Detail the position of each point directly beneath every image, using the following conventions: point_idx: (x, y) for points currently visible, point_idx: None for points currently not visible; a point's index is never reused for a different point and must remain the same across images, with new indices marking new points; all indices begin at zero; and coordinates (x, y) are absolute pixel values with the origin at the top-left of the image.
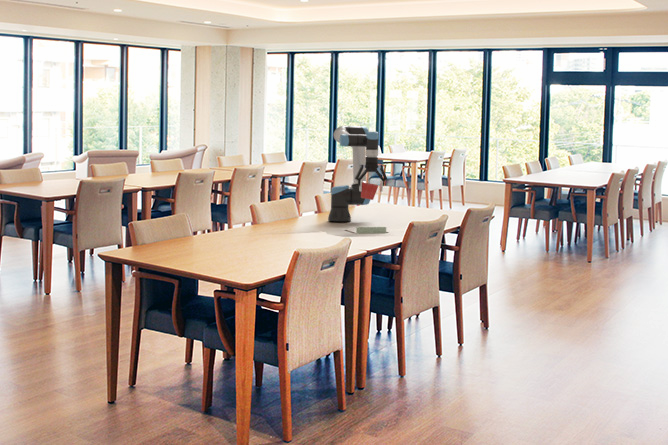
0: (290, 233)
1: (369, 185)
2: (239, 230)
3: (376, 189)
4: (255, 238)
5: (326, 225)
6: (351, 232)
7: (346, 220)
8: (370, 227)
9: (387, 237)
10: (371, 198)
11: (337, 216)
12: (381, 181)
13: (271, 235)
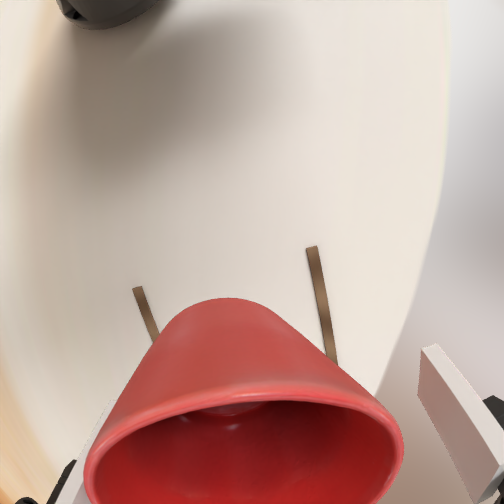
0: (10, 389)
1: None
2: None
3: (340, 469)
4: (11, 459)
5: (67, 32)
6: None
7: (144, 9)
8: None
9: None
10: (270, 409)
11: (85, 18)
12: (475, 492)
13: (3, 422)
